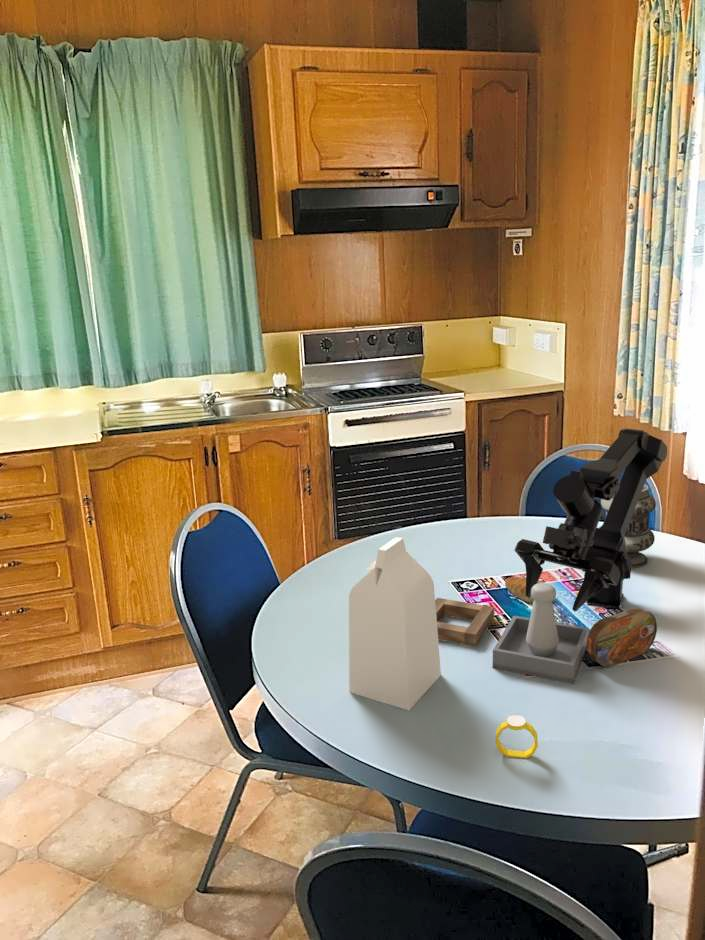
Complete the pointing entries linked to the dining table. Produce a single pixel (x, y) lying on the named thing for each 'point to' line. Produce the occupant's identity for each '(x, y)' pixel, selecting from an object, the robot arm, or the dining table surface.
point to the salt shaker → (542, 622)
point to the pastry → (518, 587)
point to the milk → (393, 630)
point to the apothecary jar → (638, 528)
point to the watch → (516, 724)
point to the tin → (621, 637)
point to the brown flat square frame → (470, 611)
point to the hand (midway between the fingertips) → (550, 603)
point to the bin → (520, 659)
